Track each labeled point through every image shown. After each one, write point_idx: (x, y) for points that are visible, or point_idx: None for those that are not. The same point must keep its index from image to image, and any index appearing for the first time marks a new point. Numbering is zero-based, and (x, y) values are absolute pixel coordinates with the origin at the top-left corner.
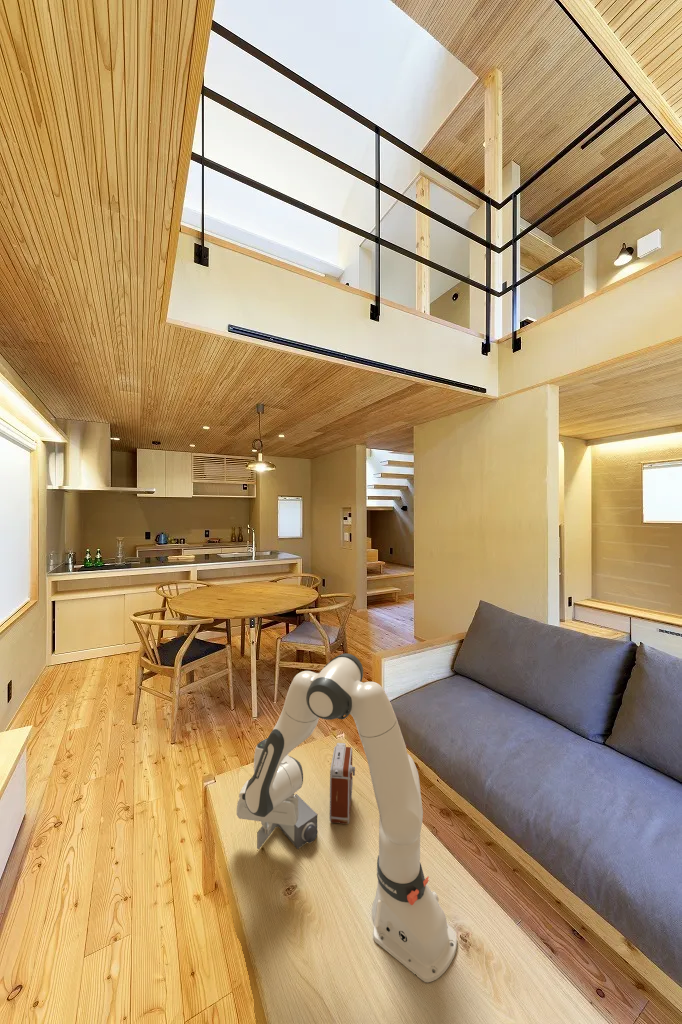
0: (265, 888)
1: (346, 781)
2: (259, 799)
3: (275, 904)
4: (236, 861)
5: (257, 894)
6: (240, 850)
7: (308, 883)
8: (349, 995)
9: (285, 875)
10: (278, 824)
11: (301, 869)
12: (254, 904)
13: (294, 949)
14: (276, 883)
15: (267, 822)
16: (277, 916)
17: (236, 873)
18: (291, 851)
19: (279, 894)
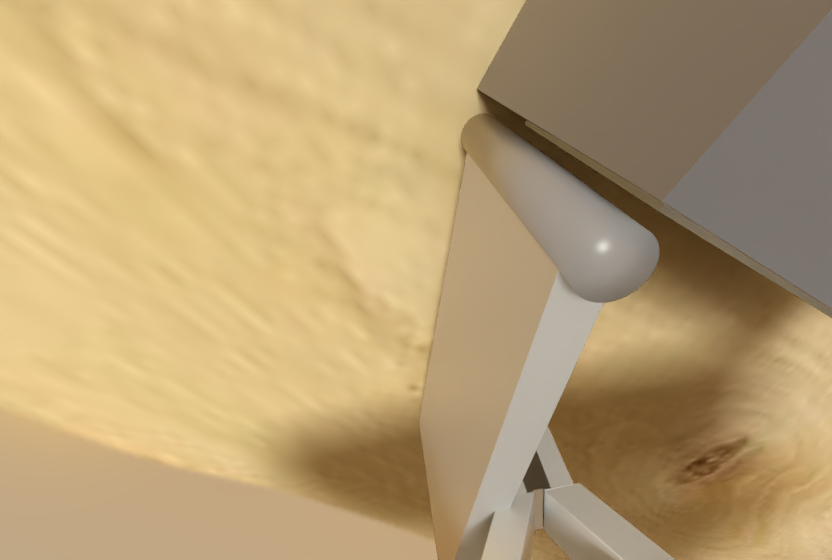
0: None
1: None
2: None
3: (642, 514)
4: (322, 480)
5: None
6: (285, 432)
7: (818, 412)
8: None
9: (673, 429)
10: (508, 108)
11: (782, 373)
12: (546, 541)
13: (734, 553)
14: (627, 468)
15: (512, 495)
16: (659, 531)
17: (376, 511)
18: (703, 301)
19: (653, 490)
